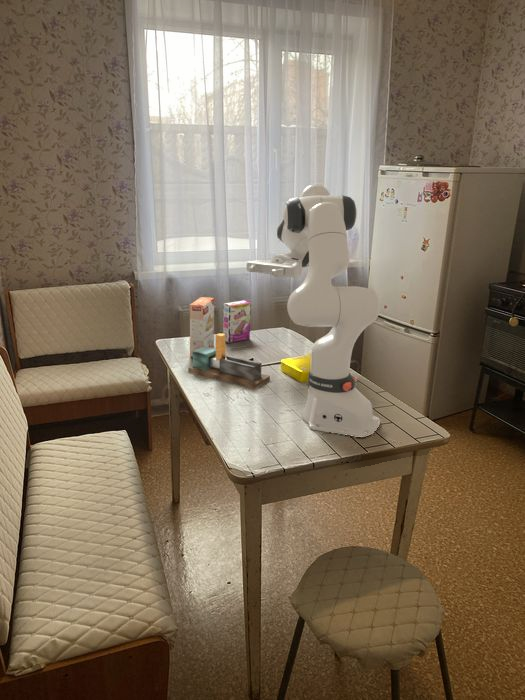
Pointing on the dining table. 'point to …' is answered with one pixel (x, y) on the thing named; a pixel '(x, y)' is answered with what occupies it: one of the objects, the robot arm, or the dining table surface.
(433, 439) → the dining table surface
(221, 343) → the post on white base
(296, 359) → the element tile
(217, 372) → the slide bolt latch board
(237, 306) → the candy bar box
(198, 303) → the cracker box
